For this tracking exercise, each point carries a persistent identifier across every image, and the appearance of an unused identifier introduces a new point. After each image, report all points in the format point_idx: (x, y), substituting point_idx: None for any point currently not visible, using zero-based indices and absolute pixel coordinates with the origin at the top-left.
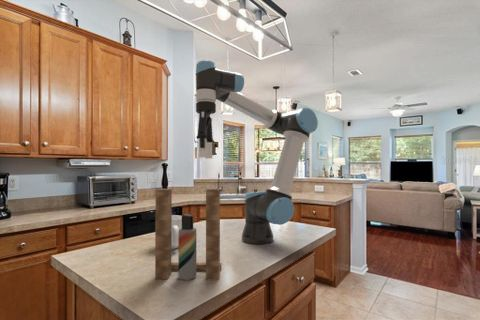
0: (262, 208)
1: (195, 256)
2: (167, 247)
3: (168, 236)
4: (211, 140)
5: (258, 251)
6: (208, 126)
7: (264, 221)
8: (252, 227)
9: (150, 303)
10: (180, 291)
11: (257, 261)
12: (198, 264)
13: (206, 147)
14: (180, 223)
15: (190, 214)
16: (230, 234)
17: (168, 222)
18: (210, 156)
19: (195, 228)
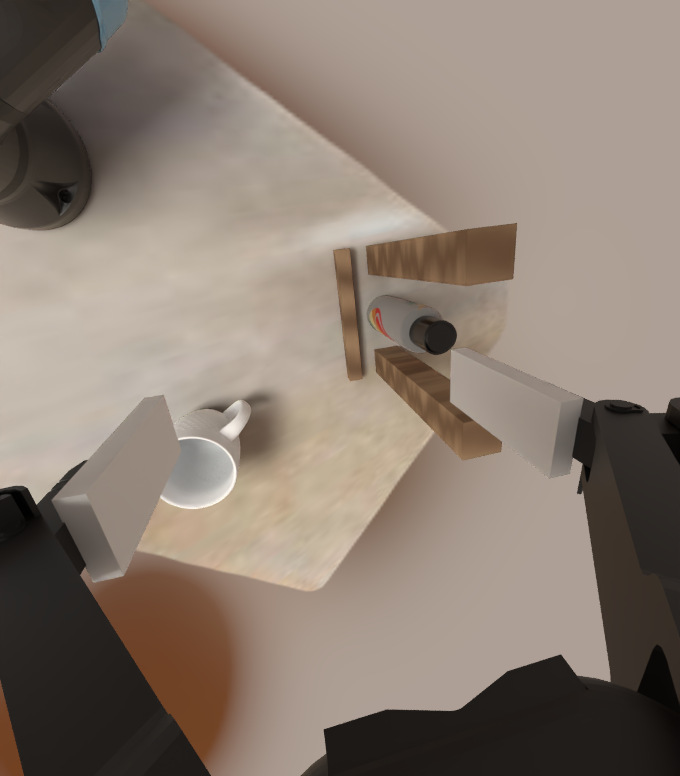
0: (60, 52)
1: (402, 299)
2: (422, 362)
3: (427, 369)
4: (51, 530)
5: (172, 150)
6: (429, 713)
7: None
8: (40, 163)
9: (477, 333)
10: (441, 303)
11: (267, 151)
12: (353, 302)
13: (510, 369)
14: (204, 429)
15: (426, 335)
16: None
17: (444, 379)
18: (161, 416)
19: (411, 312)
